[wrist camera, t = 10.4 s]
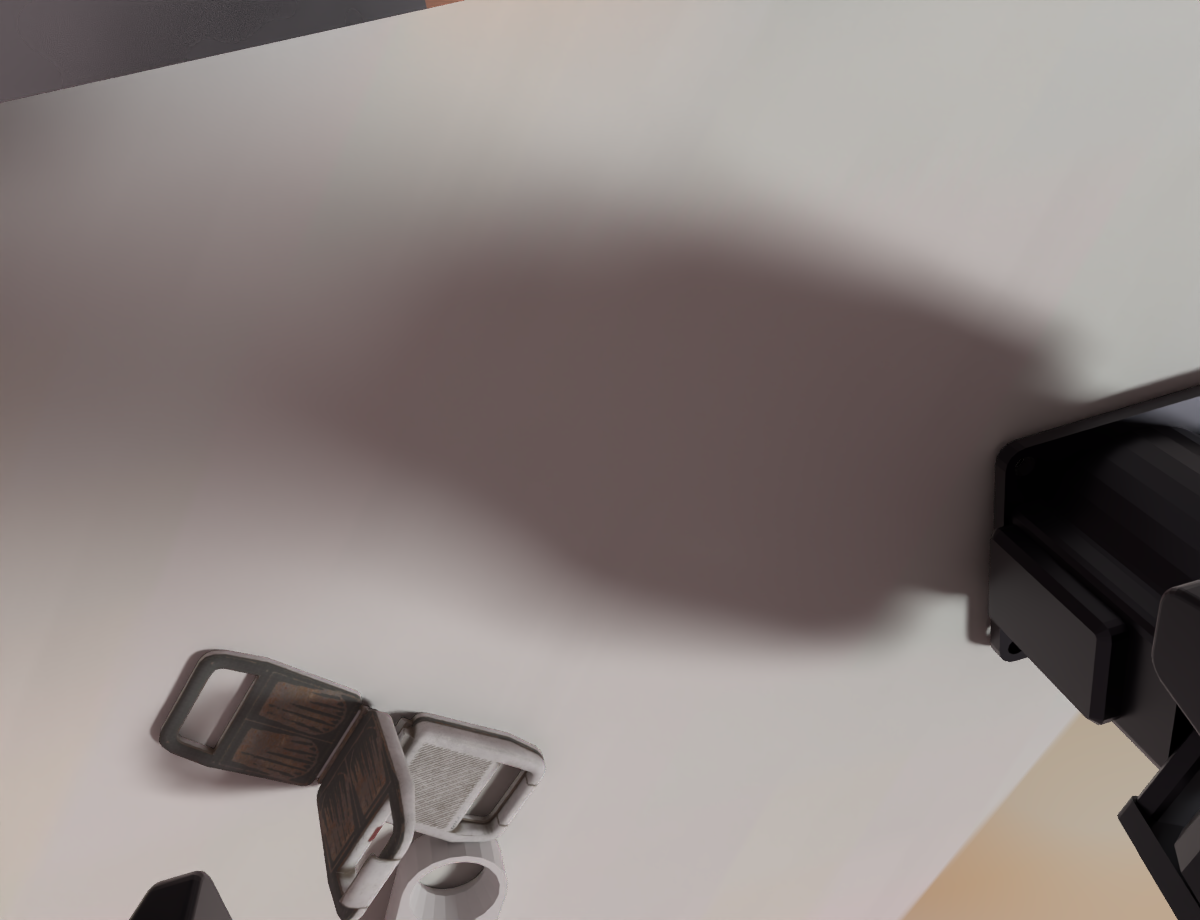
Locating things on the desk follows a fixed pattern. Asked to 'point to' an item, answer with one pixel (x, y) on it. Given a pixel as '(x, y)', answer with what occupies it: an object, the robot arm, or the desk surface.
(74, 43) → the peg board
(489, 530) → the desk surface
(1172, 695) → the robot arm
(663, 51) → the desk surface
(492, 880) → the adjustable wrench
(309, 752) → the strap clip
